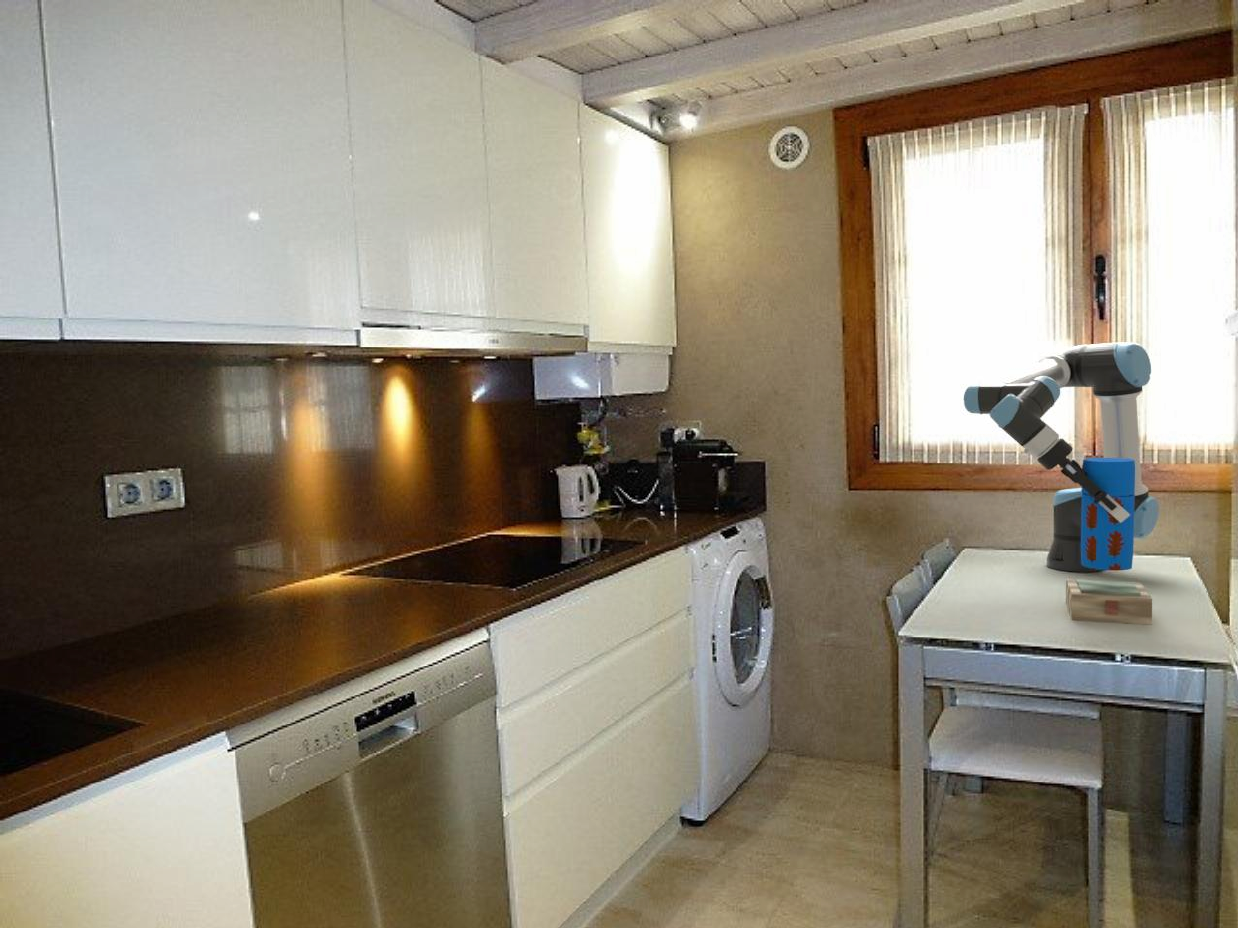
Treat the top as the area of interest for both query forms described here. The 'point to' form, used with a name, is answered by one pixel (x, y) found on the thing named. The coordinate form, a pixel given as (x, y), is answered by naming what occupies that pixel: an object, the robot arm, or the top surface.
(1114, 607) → the wooden box
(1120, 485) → the thermos
